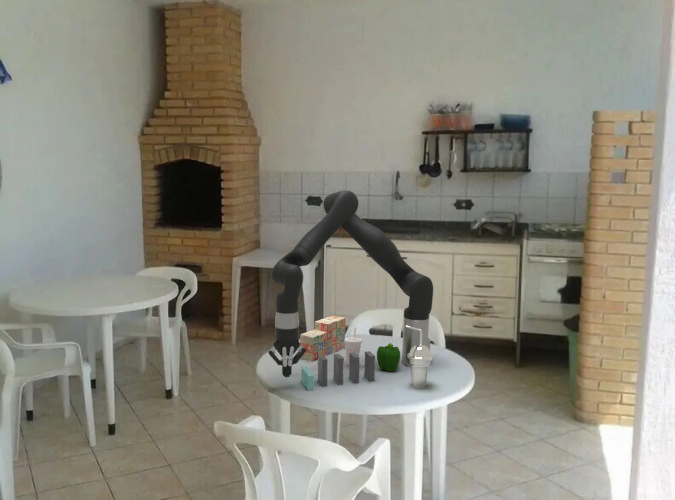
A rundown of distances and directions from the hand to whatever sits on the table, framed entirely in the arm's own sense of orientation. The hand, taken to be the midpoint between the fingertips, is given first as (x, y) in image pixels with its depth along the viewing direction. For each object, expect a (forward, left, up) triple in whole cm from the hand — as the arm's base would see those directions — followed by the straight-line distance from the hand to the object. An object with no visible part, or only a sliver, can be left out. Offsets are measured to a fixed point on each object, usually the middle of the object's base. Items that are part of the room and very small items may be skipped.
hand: (286, 376), depth 208 cm
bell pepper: (-39, -8, -4) cm, 40 cm away
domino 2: (-12, 0, -4) cm, 13 cm away
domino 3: (-18, 0, -4) cm, 18 cm away
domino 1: (-7, +5, -1) cm, 9 cm away
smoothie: (-28, -15, -4) cm, 32 cm away
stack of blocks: (-21, -31, -4) cm, 38 cm away
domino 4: (-23, 0, -4) cm, 23 cm away
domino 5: (-29, 0, -4) cm, 29 cm away
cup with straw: (-43, +9, -4) cm, 44 cm away
